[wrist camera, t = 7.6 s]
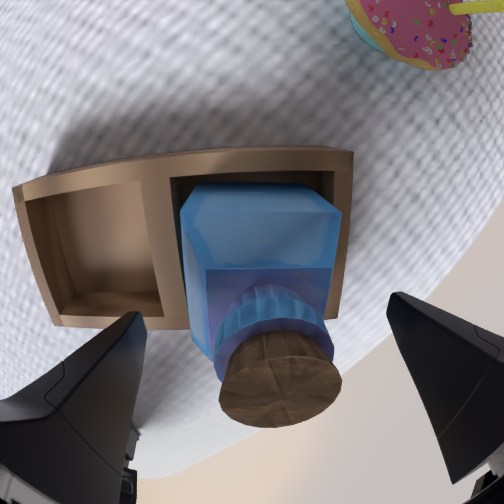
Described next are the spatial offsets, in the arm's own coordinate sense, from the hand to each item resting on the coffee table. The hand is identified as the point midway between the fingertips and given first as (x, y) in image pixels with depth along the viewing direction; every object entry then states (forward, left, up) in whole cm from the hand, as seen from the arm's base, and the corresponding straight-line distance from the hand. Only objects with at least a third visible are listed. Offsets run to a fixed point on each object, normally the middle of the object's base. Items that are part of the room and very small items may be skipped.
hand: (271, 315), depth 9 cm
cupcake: (+9, +14, -10) cm, 20 cm away
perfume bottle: (0, 0, -9) cm, 9 cm away
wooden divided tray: (-5, 0, -10) cm, 11 cm away
